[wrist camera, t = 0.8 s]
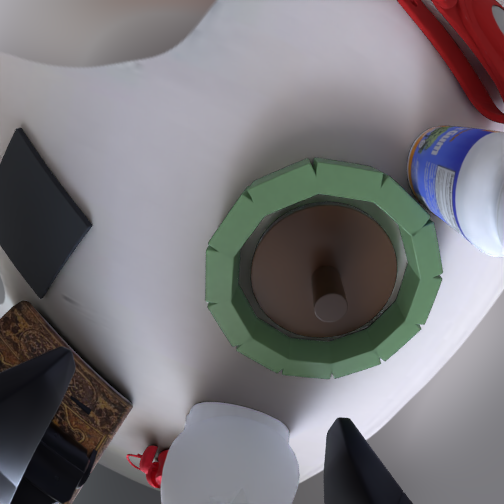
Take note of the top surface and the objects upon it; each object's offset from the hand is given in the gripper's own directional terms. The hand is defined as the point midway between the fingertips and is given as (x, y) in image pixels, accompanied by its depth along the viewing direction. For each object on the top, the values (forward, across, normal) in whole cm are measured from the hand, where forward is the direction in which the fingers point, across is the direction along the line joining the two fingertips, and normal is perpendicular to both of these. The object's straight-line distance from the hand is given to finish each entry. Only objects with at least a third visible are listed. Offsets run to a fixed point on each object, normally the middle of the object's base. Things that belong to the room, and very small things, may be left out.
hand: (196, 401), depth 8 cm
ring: (+11, -5, 0) cm, 12 cm away
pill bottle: (+11, -11, -9) cm, 18 cm away
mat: (+12, +19, +1) cm, 22 cm away
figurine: (+12, -3, +17) cm, 21 cm away
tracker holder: (+11, -11, -19) cm, 24 cm away
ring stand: (+11, -5, 0) cm, 12 cm away
